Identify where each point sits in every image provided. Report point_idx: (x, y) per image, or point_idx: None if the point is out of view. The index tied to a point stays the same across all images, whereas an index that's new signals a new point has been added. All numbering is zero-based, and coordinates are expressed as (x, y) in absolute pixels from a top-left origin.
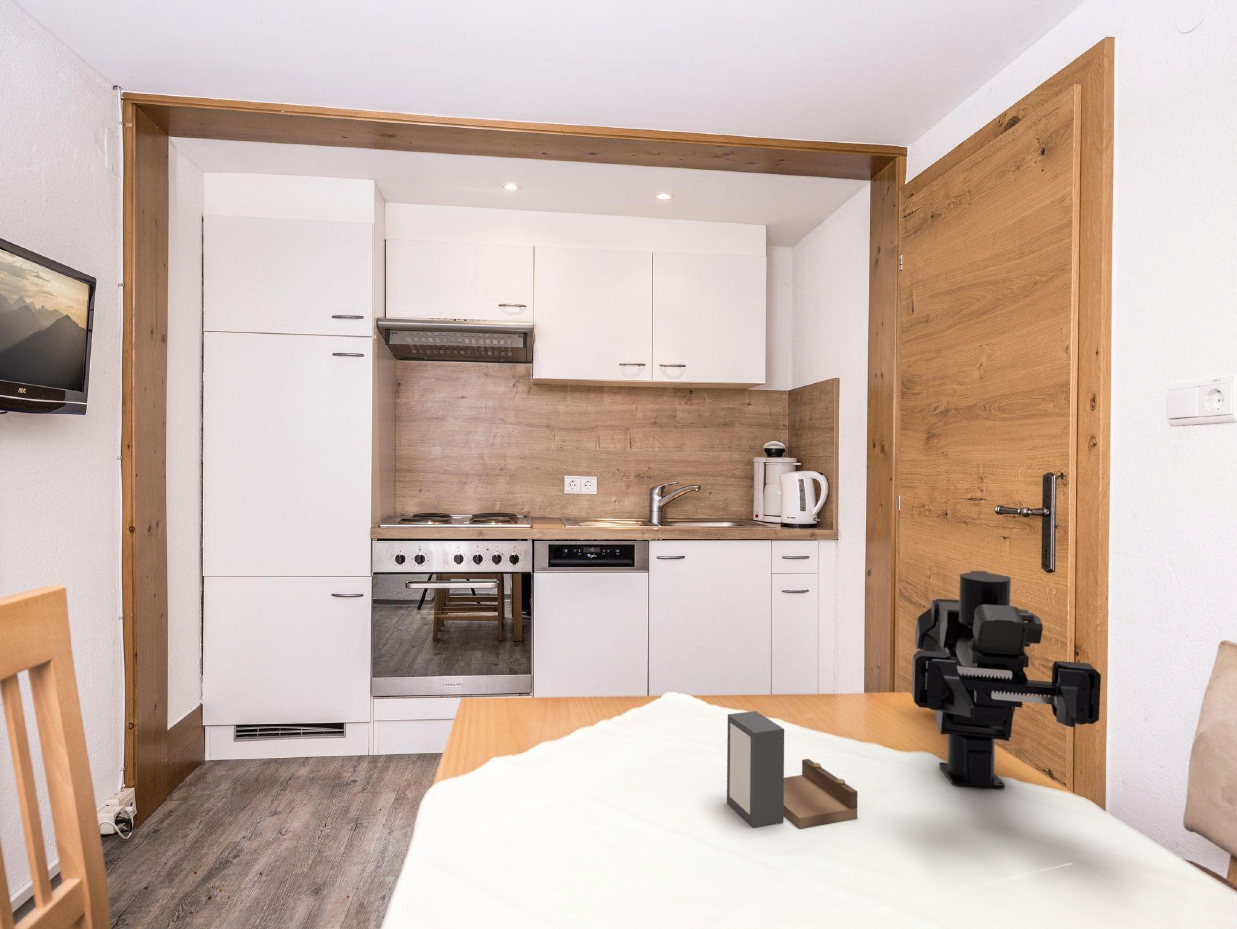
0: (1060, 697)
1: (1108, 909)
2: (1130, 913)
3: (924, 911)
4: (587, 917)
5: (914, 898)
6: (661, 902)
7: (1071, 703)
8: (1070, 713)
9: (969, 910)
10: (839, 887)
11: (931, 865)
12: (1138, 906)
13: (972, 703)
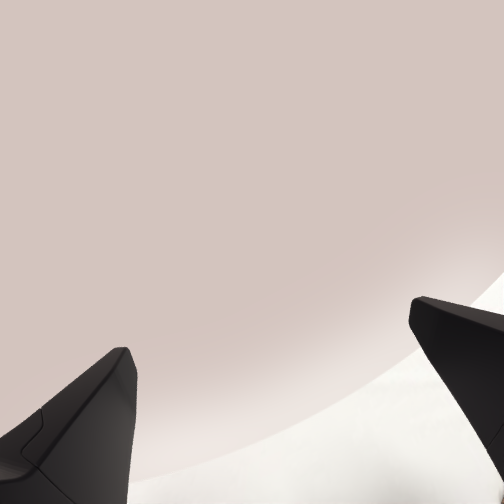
0: (64, 496)
1: (185, 485)
2: (162, 484)
3: (371, 393)
4: (496, 282)
5: (386, 406)
6: (492, 304)
7: (74, 390)
8: (119, 352)
9: (335, 418)
10: None
11: (392, 476)
12: (147, 500)
13: (427, 303)
